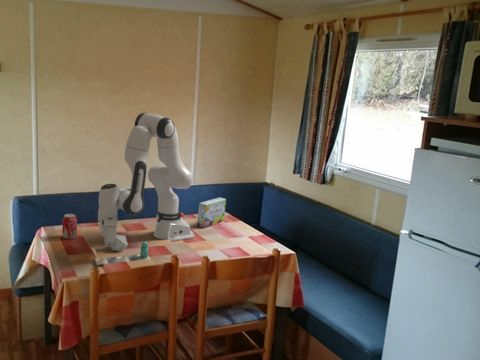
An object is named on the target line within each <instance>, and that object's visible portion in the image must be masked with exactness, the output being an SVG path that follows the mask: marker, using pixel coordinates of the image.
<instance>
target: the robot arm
mask: <svg viewBox="0 0 480 360" xmlns="http://www.w3.org/2000/svg"><path fill="white" fill-rule="evenodd" d="M153 137H154V138H156V144H157V147H156V148H157V156H158V159H159V161H160V162H161V163H163V164H164V165H162V164H159V165H158V164H157V165H151V167H149V169H148V170H147V161H148V155H149V150H150V145H151V140H152V139H153ZM179 144H180V143H179V135H178V131H177V127H176V125H175V123H174V120H172V119H171V118H169V117H166V116H164V115H163V116H162V115H160V114H154V113H149V112H141V113H139V114H138V115H137V117H136V118H135V120H134V126H132V128H131V131H130V132H129V135H128V137H127V140H126V144H125V148H124V156H123V158H124V160H125V162H126V164H127V166H128V167H129V169H130V171H131V184H130V190H129V189H126V188H123V187H120V186H119V185H117V184H116V183H106V184H103V185H102V186H101V187H100V189H99V194H98V206H99V207H98V210H97V211H98V212H97V222H99V224H98V225H99V230H100V232H101V233H102V235H103V244H104V245H105V246H110V245H109V242H114V241H115V238H116V235H117V226H119V221H118V210H123V212H124V213H126V215H128V216H130V217H132V216H138V215H139V214H140V213H142V212H143V210H144V207H145V199H144V192H145V186H146V179H148V181H149V182H150V183H151V184H152V186H153V187H154V189H155V191H156V194H157V202H158V203H157V204H158V205H157V211H156V218H155V219H156V224H155V230H154V232H153V237H155V238H156V239H159V240H164V241H166V240H170V241H171V242H176V241H181V240H189V239H194V238H195V233H194V232H193V231H192V230H191V226H190V224H189V223H188V222H187V221H186V220H185V219H184V217H185V214H184V213H183V212H181V211H180V210H179V206H180V205H179V203H180V199H179V197H178V195H177V194H176V193H175V192H174V190H173V189H176V190H177V189H178V190H187V189H189V188H190V187H191V186H192V185H193V182H194V180H193V179H194V177H193V174H192V172H191V171H190V170H188V168H187V167H186V166H185V164H184V163H183V161H182V158H181V156H180V145H179ZM147 177H148V178H147Z"/></svg>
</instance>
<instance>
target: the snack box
mask: <svg viewBox="0 0 480 360" xmlns="http://www.w3.org/2000/svg"><path fill="white" fill-rule="evenodd" d="M226 204H227V199H226V198H223V197H220V196H219V197H215V198H212V199H209V200H205V201H200V202H199V203H198V212H197V222H196V227H198V228H201V229H206V228H208V227H212V226H215V225H218V224H220V222H221V223H224V222H223V221H224V220H225V212H226ZM217 223H218V224H217ZM214 224H215V225H214Z"/></svg>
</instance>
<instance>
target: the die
mask: <svg viewBox="0 0 480 360" xmlns="http://www.w3.org/2000/svg"><path fill="white" fill-rule="evenodd" d="M128 245H129V243H128V241H127V237H126V235H124V234H123V235H121V234H116V238H115V241H114V242H109V245H108V246H109V247H110V248H109V249H110V250H111V251H113V252H124V251H125V250H126V249H127V247H128Z"/></svg>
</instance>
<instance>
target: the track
mask: <svg viewBox="0 0 480 360" xmlns="http://www.w3.org/2000/svg"><path fill="white" fill-rule="evenodd" d="M146 260H151V258H150V256H149V255H148V257H147V258H141V257H140V254H131V255H120V256H110V257H100V258H93V261H92V262H93V264H94V266H95V268H101V267H105V266H104V265H105V264H113V263H114V264H115V263H123V262H125V263H126V262H132V261H135V262H137V261H146Z"/></svg>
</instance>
